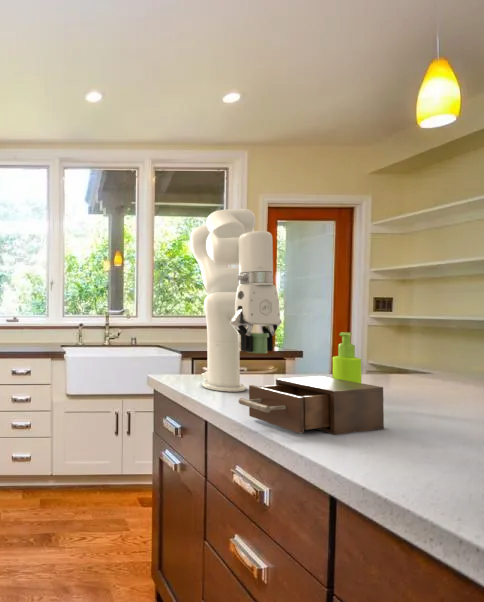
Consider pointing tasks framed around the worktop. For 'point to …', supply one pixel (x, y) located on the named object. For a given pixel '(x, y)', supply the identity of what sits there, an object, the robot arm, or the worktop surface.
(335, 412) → the cabinet
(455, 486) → the worktop surface
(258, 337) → the pot
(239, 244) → the robot arm
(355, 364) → the soap dispenser
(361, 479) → the worktop surface
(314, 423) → the drawer
